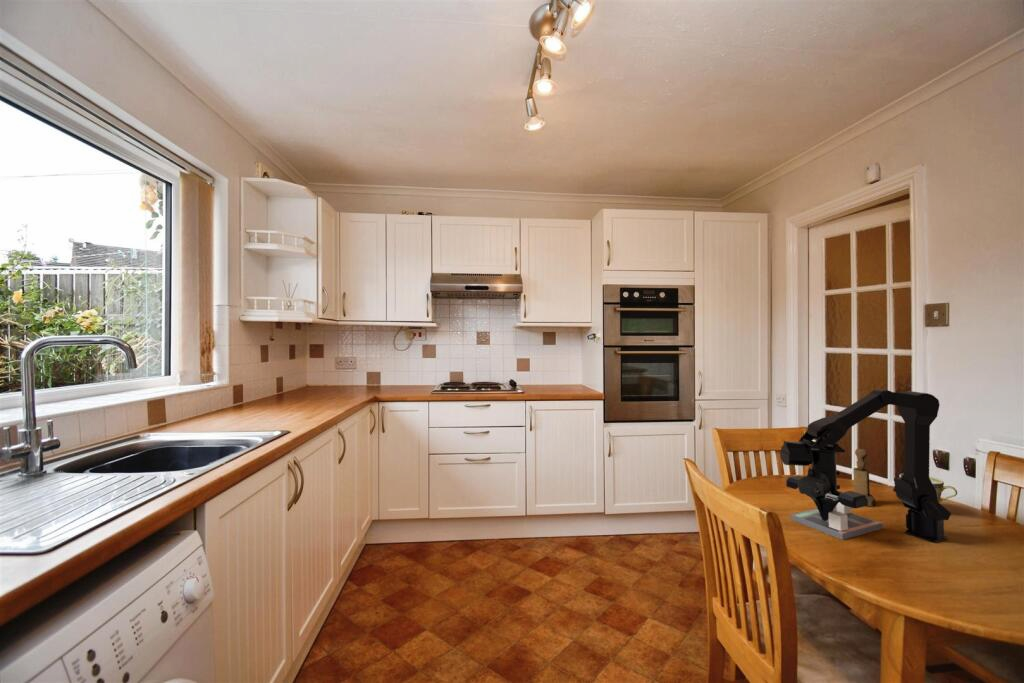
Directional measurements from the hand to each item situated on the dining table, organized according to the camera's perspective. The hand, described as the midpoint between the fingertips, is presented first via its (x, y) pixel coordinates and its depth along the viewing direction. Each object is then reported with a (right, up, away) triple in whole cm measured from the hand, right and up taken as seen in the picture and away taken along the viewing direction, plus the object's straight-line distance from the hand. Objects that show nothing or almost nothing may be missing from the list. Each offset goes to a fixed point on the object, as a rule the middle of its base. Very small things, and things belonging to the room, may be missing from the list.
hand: (824, 520), depth 115 cm
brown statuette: (+27, -3, +19) cm, 33 cm away
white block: (+11, -1, +7) cm, 13 cm away
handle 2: (+1, -1, -3) cm, 4 cm away
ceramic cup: (+42, -2, +11) cm, 43 cm away
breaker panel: (+6, -3, +3) cm, 7 cm away
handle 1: (+5, -1, +5) cm, 7 cm away
